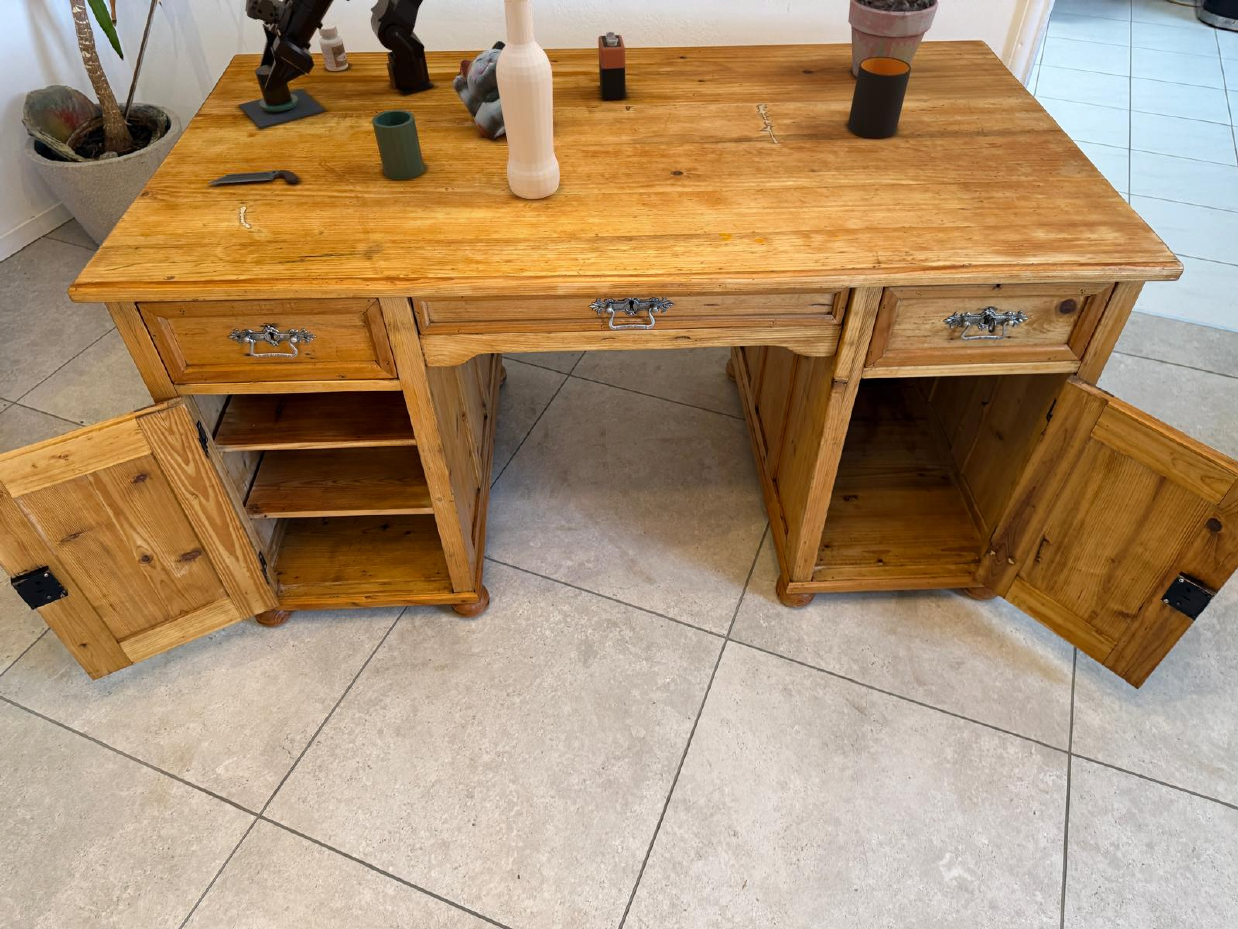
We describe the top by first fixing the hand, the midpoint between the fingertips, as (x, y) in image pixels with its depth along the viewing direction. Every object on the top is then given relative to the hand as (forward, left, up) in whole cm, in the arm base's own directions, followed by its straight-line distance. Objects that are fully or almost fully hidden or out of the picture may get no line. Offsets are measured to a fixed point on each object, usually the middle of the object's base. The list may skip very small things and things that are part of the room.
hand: (264, 81), depth 145 cm
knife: (+12, +25, -5) cm, 28 cm away
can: (-9, +36, -5) cm, 38 cm away
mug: (-82, +69, -5) cm, 108 cm away
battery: (-54, +31, -5) cm, 63 cm away
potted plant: (-100, +54, -5) cm, 114 cm away
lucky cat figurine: (-31, +31, -5) cm, 45 cm away
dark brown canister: (-1, 0, -4) cm, 4 cm away
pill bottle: (-17, -13, -5) cm, 22 cm away
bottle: (-23, +54, -5) cm, 59 cm away
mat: (-1, 0, -5) cm, 5 cm away
